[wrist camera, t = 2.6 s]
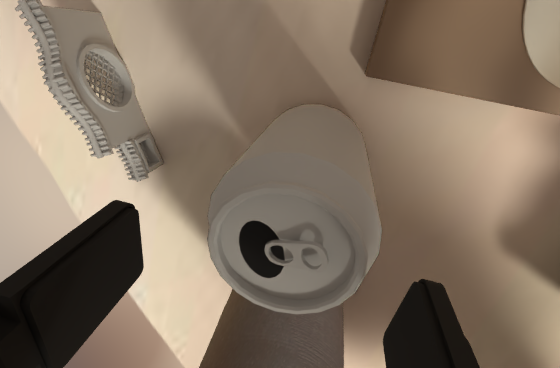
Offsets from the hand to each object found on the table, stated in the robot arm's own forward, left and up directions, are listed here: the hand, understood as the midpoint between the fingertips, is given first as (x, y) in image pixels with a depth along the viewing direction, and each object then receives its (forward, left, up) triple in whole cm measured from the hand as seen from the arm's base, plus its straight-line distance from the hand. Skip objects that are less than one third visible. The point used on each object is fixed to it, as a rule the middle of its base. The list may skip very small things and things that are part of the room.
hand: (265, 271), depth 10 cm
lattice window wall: (+15, -1, -13) cm, 20 cm away
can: (0, 0, -13) cm, 13 cm away
